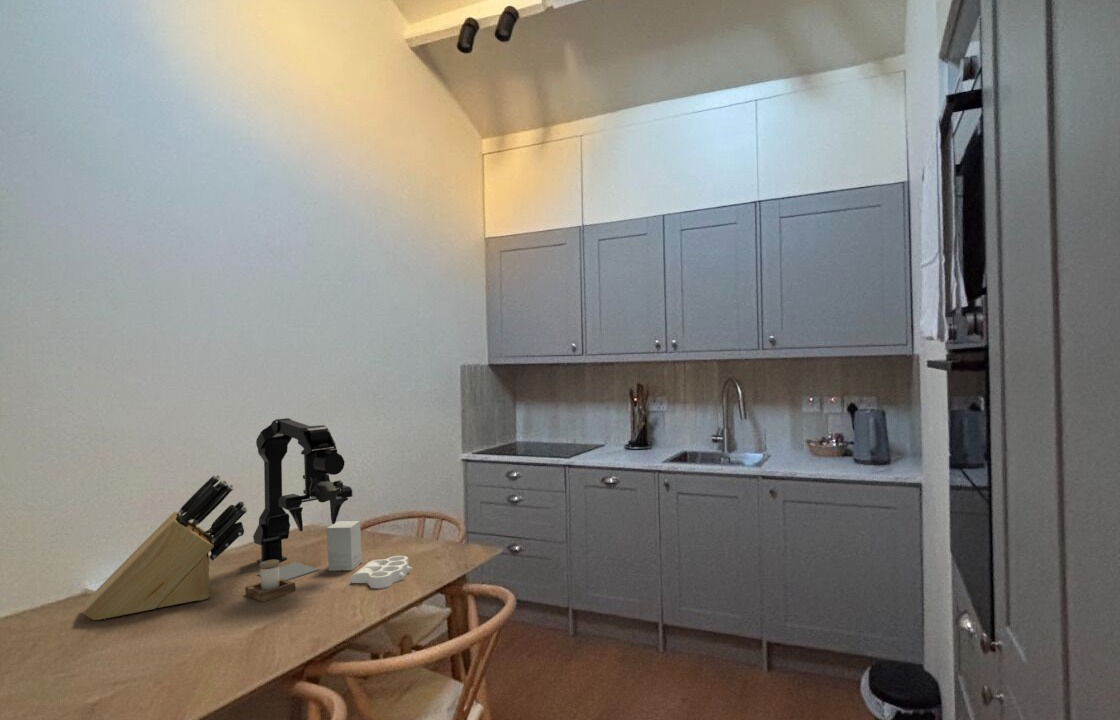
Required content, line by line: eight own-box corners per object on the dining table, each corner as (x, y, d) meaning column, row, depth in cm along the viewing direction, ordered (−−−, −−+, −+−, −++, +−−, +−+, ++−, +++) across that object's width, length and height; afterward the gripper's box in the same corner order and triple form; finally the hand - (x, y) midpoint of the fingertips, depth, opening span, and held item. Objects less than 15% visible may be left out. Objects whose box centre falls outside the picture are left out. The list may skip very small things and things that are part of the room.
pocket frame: (245, 594, 160) (245, 587, 160) (278, 584, 167) (277, 576, 167) (262, 601, 155) (262, 593, 155) (295, 590, 162) (295, 583, 162)
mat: (257, 575, 175) (257, 574, 175) (296, 563, 185) (296, 562, 185) (279, 583, 168) (279, 581, 168) (319, 570, 177) (319, 569, 177)
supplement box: (362, 562, 183) (361, 520, 183) (351, 571, 176) (350, 527, 176) (339, 562, 184) (337, 520, 184) (327, 571, 176) (325, 527, 176)
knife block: (250, 592, 162) (246, 475, 162) (82, 625, 144) (78, 494, 144) (247, 580, 171) (243, 469, 171) (89, 609, 153) (86, 486, 153)
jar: (257, 593, 160) (256, 563, 160) (274, 588, 164) (273, 558, 164) (266, 597, 158) (265, 566, 158) (283, 591, 161) (282, 561, 161)
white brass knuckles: (372, 567, 180) (420, 566, 179) (344, 590, 162) (397, 590, 161) (371, 555, 180) (419, 555, 179) (344, 577, 162) (397, 577, 161)
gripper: (294, 480, 157) (296, 540, 157) (361, 469, 171) (363, 524, 171) (276, 475, 165) (278, 533, 165) (342, 465, 179) (344, 518, 179)
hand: (317, 527), depth 170 cm, fingers open, 9 cm apart
